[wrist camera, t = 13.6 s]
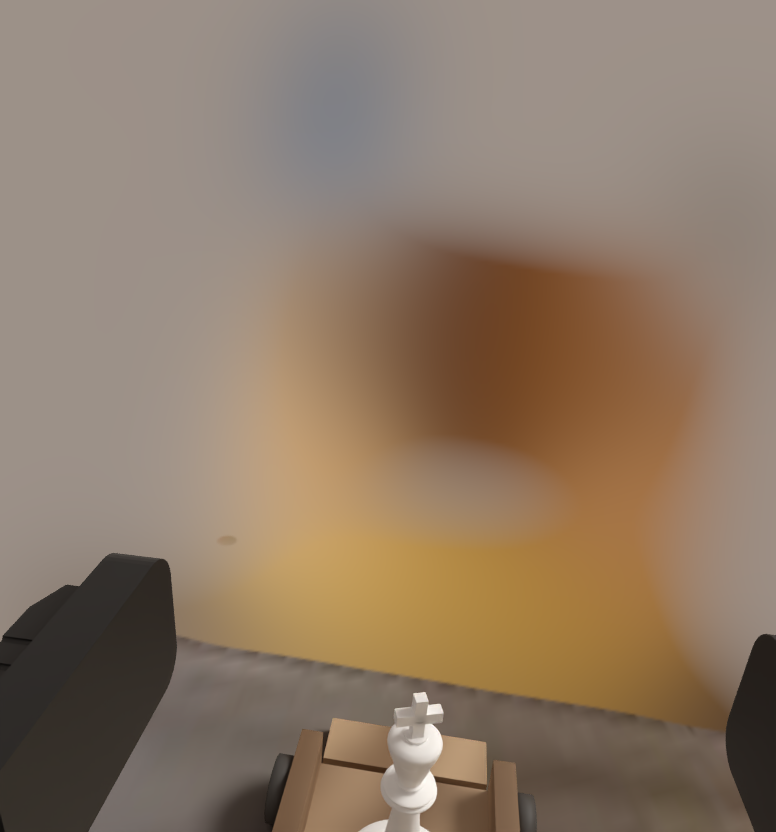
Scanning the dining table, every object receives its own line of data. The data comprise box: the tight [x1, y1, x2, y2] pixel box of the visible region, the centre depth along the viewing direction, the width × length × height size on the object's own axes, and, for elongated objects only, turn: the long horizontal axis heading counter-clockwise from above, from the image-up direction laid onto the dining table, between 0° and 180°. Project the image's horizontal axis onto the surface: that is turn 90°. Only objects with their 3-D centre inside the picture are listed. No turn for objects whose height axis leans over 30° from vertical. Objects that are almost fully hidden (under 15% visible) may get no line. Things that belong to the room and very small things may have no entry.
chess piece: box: [358, 692, 444, 832], centre depth 26 cm, size 5×5×10 cm
